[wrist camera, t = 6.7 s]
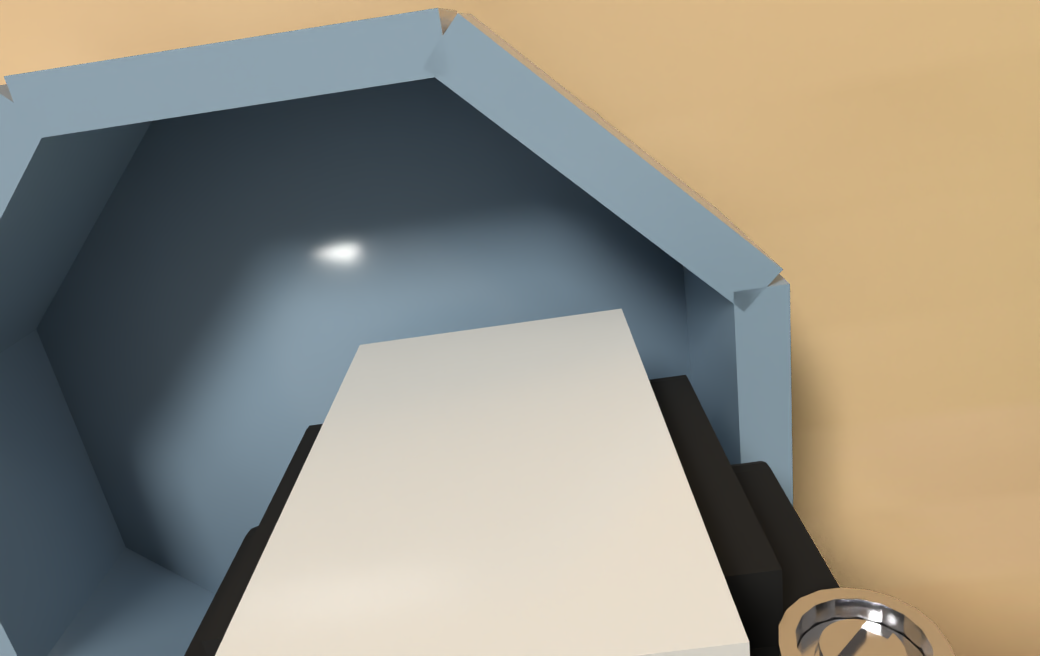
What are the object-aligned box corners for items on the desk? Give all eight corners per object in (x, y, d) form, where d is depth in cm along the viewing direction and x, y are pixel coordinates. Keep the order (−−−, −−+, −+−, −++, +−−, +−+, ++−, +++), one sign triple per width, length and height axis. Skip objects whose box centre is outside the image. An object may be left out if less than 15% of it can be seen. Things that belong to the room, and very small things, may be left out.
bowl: (699, -27, 12) (784, -46, 8) (732, 603, 17) (796, 772, 13) (-69, 94, 12) (-315, 125, 9) (171, 672, 17) (76, 854, 13)
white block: (621, 308, 10) (748, 641, 5) (648, 570, 12) (767, 1046, 6) (359, 344, 11) (191, 709, 5) (421, 598, 12) (344, 1087, 7)
